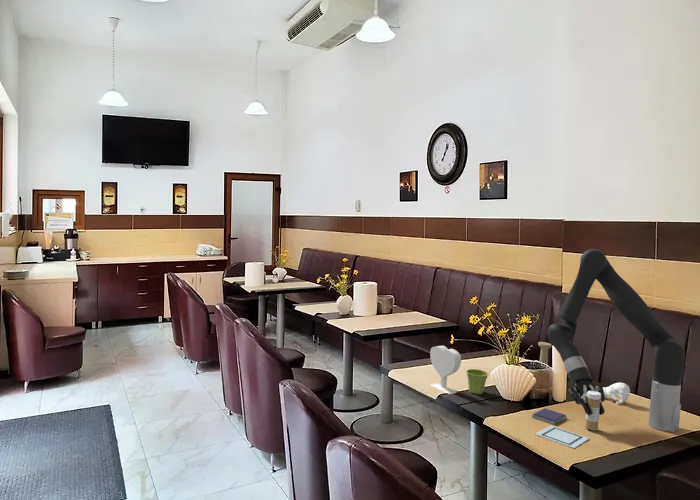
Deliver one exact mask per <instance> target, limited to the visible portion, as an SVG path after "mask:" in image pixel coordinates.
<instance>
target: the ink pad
mask: <svg viewBox="0 0 700 500" xmlns="http://www.w3.org/2000/svg"><path fill="white" fill-rule="evenodd" d="M531 418H532V419H536V420H538V421H542V422H544V423H547V424H550V425H552V426H556V425H558V424H560V423H561V422H563V421H565V420H567V419H568V415H567V414H565V413H561V412H557V411H554V410H553V409H549V408H545V407H544V408H543V409H540V410H538V411H536V412H534V413H533V414H531Z"/></svg>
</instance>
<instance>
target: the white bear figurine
mask: <svg viewBox="0 0 700 500" xmlns="http://www.w3.org/2000/svg"><path fill="white" fill-rule="evenodd" d="M602 387H603V386H602ZM603 391H604V396H605V399H606V398H608V397H609V398H611V399H612V400H614V401H616V402H615V404H616V405H621V404H623V403H626V402H627V401H628V399H629V397H630V394H631V390H630V386H629V385H628V384H626V383H624V382H616V383H613V384H611V385H609V386H606V387H603ZM618 398H620V399H619V400H618Z"/></svg>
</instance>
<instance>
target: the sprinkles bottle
mask: <svg viewBox="0 0 700 500" xmlns="http://www.w3.org/2000/svg"><path fill="white" fill-rule="evenodd" d="M600 399H601V393H599V392H597V391H596V390H595V391H588V392H587V404H589V406H590V408H591V410H592V414H591V415H587V414H586V413H585V423H584V428H585V429H588V430H591V431H597V430H599V421H600V414H599V410H600Z"/></svg>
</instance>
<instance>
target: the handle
mask: <svg viewBox="0 0 700 500" xmlns="http://www.w3.org/2000/svg"><path fill="white" fill-rule="evenodd" d="M537 345H538V346H539V347H540V353H539V354H540V355H539V361H538V363H539V362H542V363H545V364H547V365H548V364H549V349H551V348H552V345H553V344H552V343H551V342H550V343H549V342H545V341H538V342H537Z"/></svg>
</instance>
